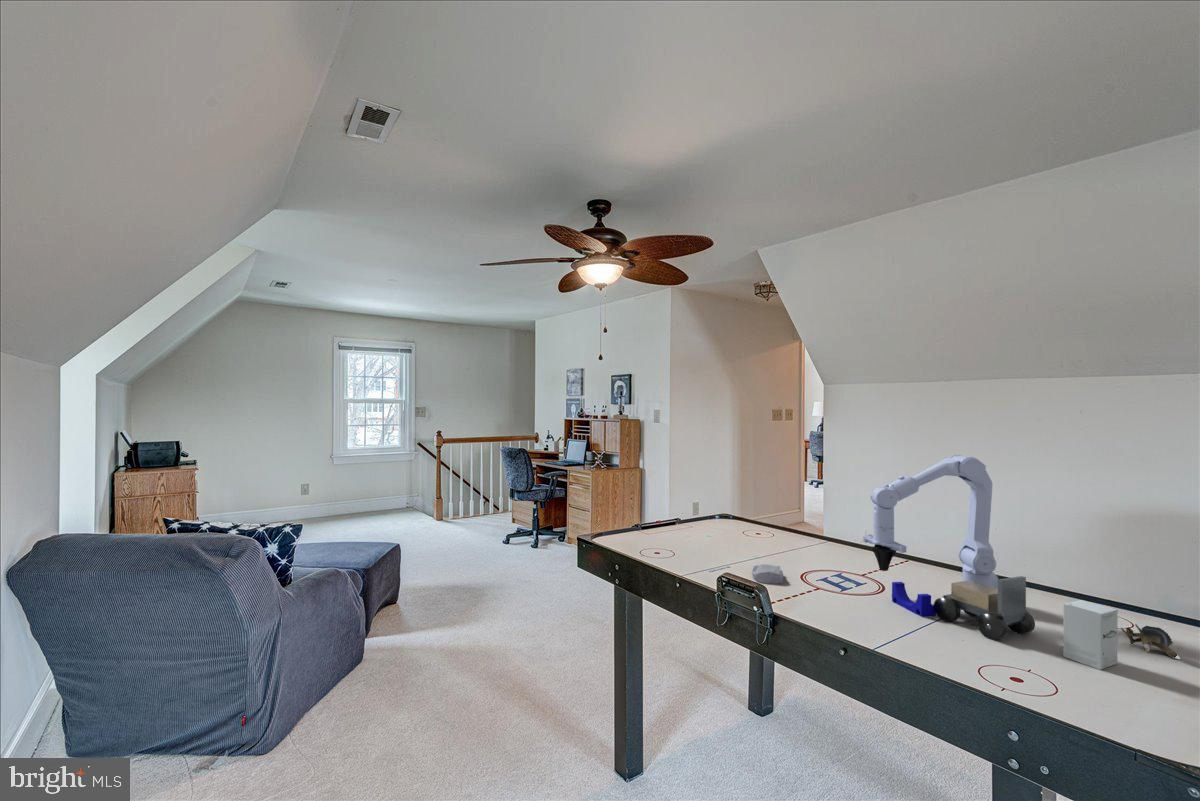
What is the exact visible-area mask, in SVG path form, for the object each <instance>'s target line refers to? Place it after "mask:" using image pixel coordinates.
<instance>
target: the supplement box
mask: <svg viewBox="0 0 1200 801" xmlns="http://www.w3.org/2000/svg"><path fill="white" fill-rule="evenodd" d="M1118 611H1119V610H1118V609H1115V608H1114V607H1108V606H1106V605H1101V604H1097V603H1094V602H1089V601H1086V600H1081V599H1079V600H1074V601H1070V602H1066V603H1063V629H1062V630H1063V633H1062V634H1063V636H1062V637H1063V640H1062V642H1063V646H1062V649H1063V650H1062V652H1063V655H1062V656H1063V657H1064V658H1067V659H1069V660H1072V661H1075V662H1077V663H1080V664H1083V665H1085V666H1088V667H1091V668H1093V669H1097V670H1100V671H1101V670H1103V669H1106V668H1108V667H1111V666H1115V665H1118V632H1119V631H1118V630H1119V628H1118V621H1119V620H1118Z"/></svg>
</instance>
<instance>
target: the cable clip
mask: <svg viewBox="0 0 1200 801" xmlns="http://www.w3.org/2000/svg"><path fill="white" fill-rule="evenodd" d="M905 584H906V583H905V582H903V581H892V582H891V602H892V603H894V604H896V605H898V606H900V607H902V608H904V609H905V610H907V611H910V612H911V613H913V614H915V615H917V616H918V617H920V618H925V617H926V618H927V617H929V618H930V617H937V614H936V613H935V610H934V603H932V595H931V594H928V593H918V594H917V598H916V601H915V602H913V601H912V600H911V598H910V597H909V595H908V593H907V590H906V586H905Z"/></svg>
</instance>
